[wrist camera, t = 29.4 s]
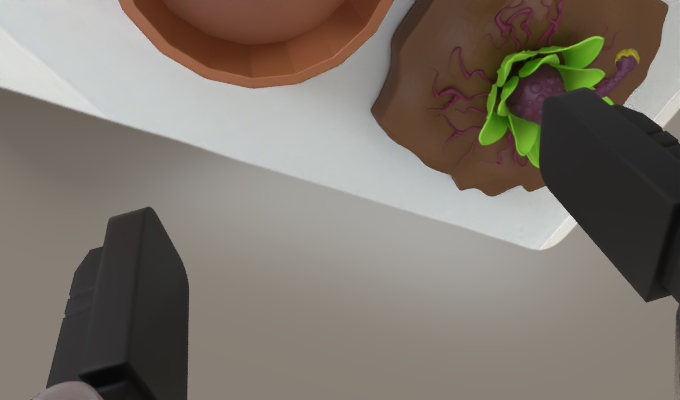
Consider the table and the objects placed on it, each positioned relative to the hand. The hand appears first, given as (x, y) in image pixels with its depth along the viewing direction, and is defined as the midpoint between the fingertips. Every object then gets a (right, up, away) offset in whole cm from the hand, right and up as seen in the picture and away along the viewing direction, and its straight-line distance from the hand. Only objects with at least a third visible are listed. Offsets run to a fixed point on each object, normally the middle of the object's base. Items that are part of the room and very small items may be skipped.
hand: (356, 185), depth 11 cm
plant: (+12, +10, +30) cm, 34 cm away
